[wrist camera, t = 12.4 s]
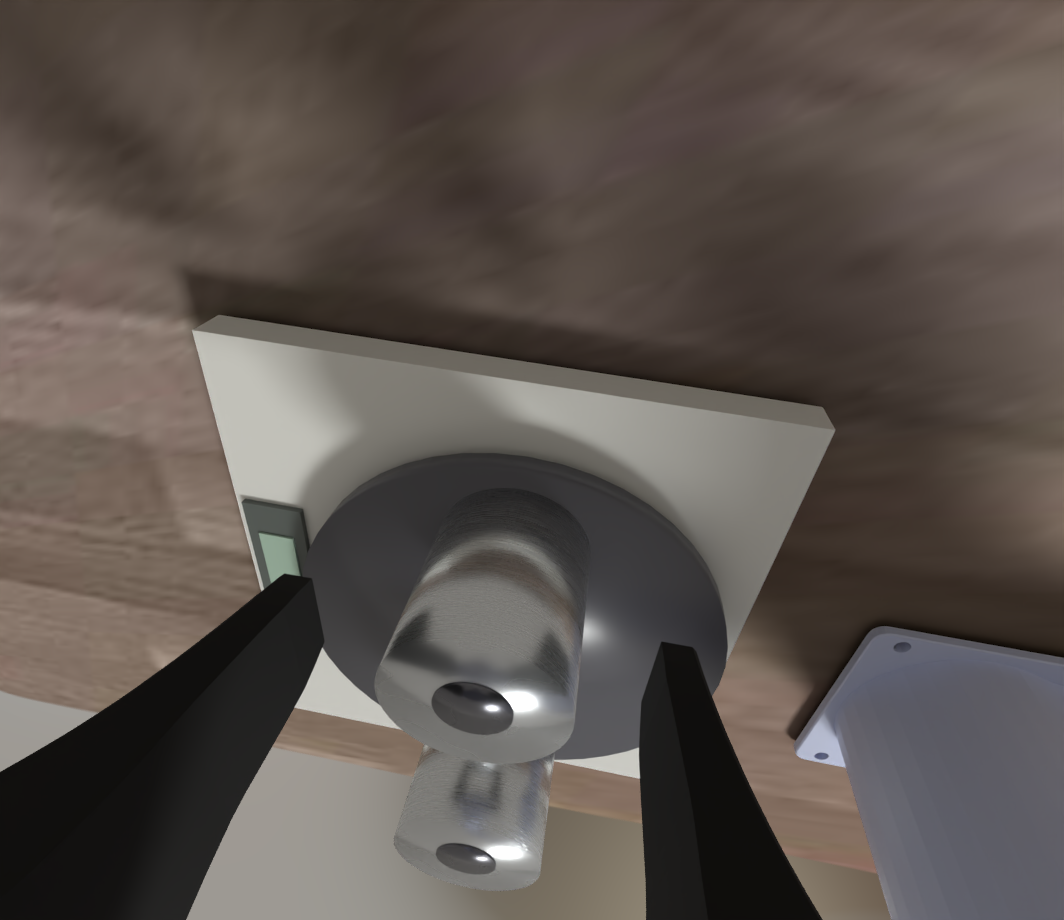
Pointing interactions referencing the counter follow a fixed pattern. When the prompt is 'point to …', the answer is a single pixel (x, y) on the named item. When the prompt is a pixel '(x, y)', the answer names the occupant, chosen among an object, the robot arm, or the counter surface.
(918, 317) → the counter surface
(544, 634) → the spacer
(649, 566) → the scale pan
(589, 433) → the scale base
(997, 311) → the counter surface
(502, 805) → the cylinder
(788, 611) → the counter surface
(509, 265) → the counter surface
